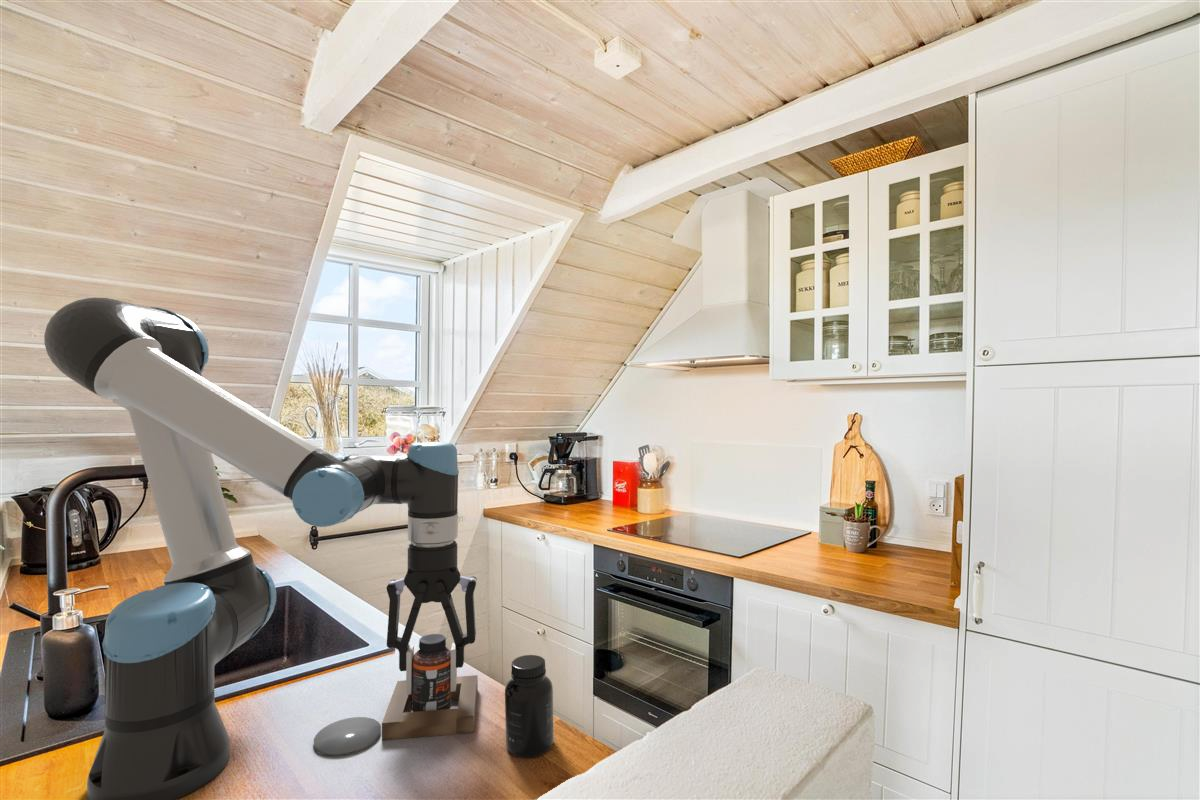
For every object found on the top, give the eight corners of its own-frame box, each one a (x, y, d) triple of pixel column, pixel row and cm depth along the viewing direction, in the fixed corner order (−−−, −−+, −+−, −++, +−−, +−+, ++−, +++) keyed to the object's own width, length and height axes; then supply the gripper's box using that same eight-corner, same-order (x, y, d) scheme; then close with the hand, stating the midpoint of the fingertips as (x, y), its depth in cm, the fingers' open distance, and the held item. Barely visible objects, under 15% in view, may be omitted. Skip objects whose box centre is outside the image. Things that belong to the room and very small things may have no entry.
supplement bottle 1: (440, 722, 91) (440, 647, 91) (404, 718, 92) (404, 644, 92) (457, 702, 97) (458, 632, 97) (423, 698, 98) (423, 629, 98)
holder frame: (381, 740, 87) (381, 723, 87) (397, 695, 100) (397, 680, 100) (473, 732, 89) (473, 715, 89) (477, 689, 102) (477, 675, 102)
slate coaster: (305, 758, 83) (305, 754, 83) (324, 723, 91) (324, 719, 91) (373, 752, 84) (373, 748, 84) (386, 718, 93) (386, 714, 93)
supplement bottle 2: (533, 726, 91) (533, 647, 91) (563, 745, 86) (563, 661, 86) (495, 745, 86) (495, 661, 86) (524, 766, 81) (524, 677, 81)
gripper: (363, 549, 89) (363, 705, 89) (493, 545, 92) (492, 696, 92) (374, 537, 96) (373, 681, 97) (494, 534, 99) (493, 673, 100)
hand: (431, 688), depth 94 cm, fingers closed on supplement bottle 1, 6 cm apart
